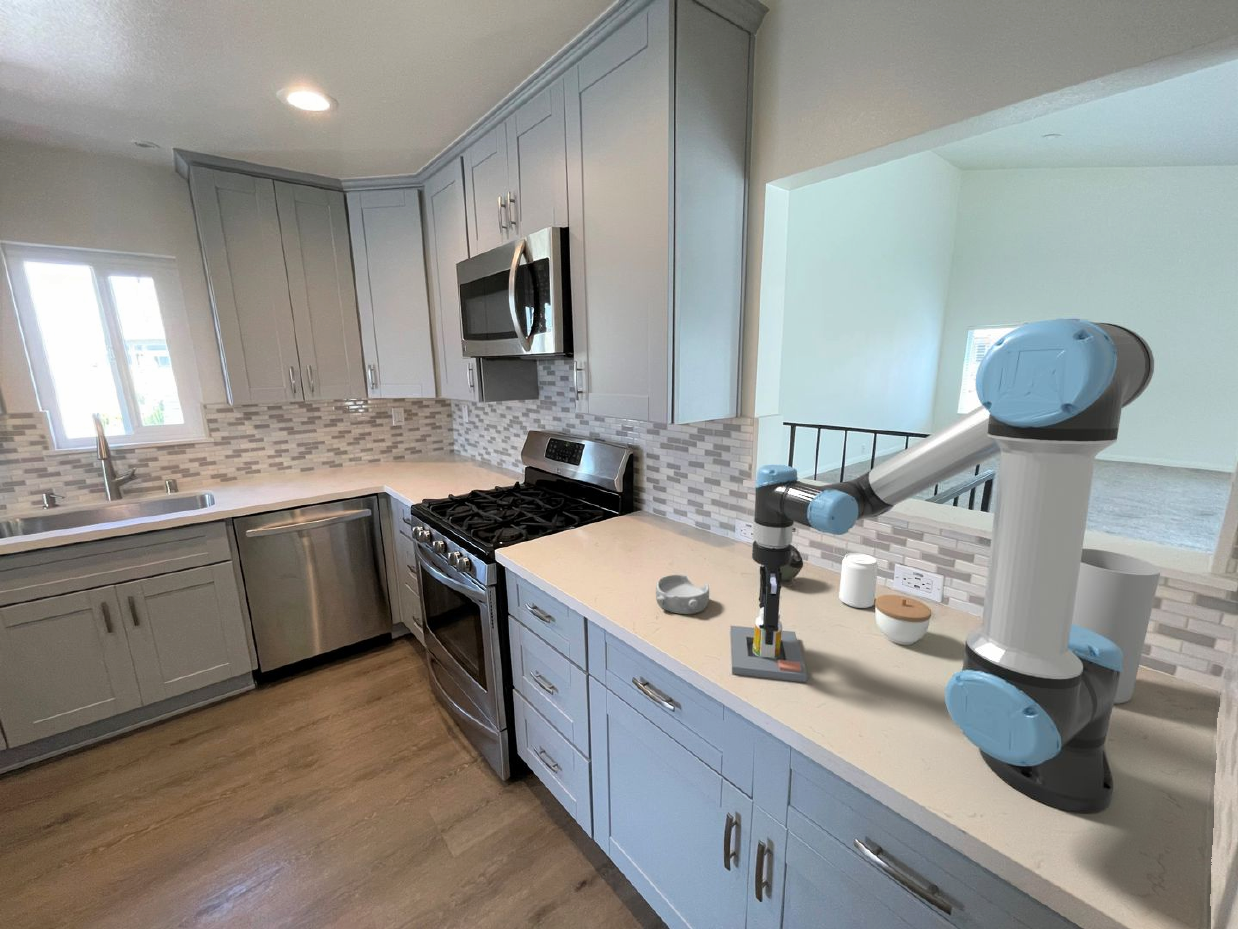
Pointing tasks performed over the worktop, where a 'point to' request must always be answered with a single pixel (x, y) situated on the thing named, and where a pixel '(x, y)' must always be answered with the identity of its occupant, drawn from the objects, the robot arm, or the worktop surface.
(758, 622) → the supplement bottle
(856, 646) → the worktop surface
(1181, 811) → the worktop surface
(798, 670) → the socket plate
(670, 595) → the dish
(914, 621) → the lidded jar
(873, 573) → the beverage can
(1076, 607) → the cylinder vase
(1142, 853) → the worktop surface
